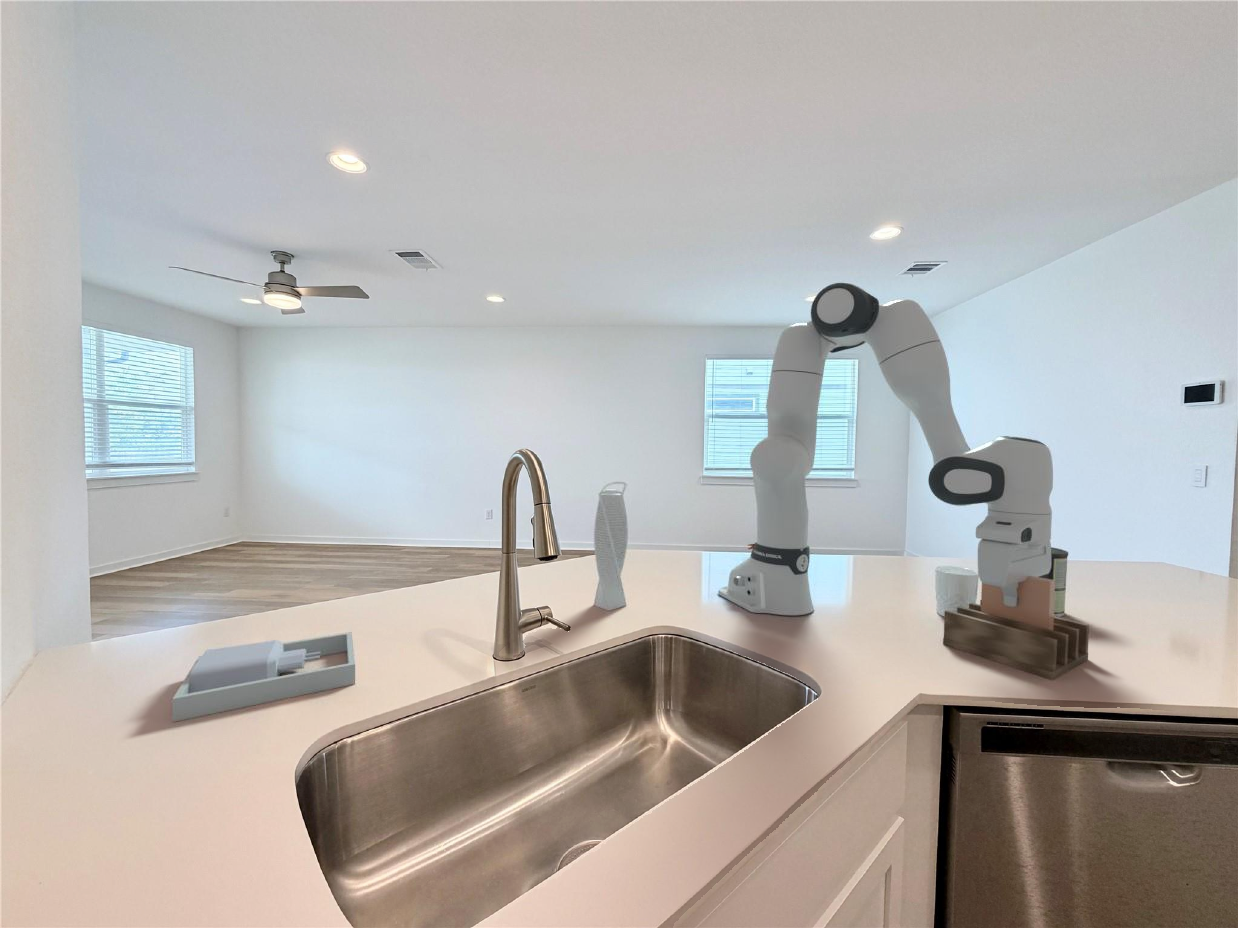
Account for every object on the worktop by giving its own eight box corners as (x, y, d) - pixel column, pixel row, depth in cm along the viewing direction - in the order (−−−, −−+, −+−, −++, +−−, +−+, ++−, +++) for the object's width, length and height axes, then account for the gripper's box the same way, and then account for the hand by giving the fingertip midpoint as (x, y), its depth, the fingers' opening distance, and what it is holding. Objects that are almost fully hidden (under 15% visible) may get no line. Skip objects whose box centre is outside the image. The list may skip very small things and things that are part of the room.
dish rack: (943, 643, 91) (944, 611, 90) (982, 629, 98) (983, 599, 98) (1052, 679, 77) (1054, 641, 77) (1087, 659, 85) (1089, 624, 84)
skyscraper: (612, 597, 116) (614, 480, 115) (634, 605, 111) (636, 482, 110) (587, 604, 111) (588, 482, 110) (608, 613, 105) (610, 484, 104)
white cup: (963, 610, 110) (964, 566, 110) (985, 622, 102) (987, 575, 102) (926, 608, 111) (927, 565, 111) (946, 620, 103) (947, 574, 103)
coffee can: (1025, 615, 107) (1028, 552, 106) (996, 601, 117) (998, 543, 117) (1078, 618, 105) (1081, 554, 105) (1043, 603, 116) (1046, 544, 115)
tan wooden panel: (980, 621, 91) (982, 568, 91) (985, 619, 92) (987, 567, 92) (1048, 640, 83) (1050, 581, 82) (1052, 637, 84) (1055, 580, 83)
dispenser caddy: (199, 675, 75) (199, 656, 75) (351, 648, 85) (351, 631, 85) (172, 721, 62) (172, 698, 62) (355, 683, 73) (355, 664, 73)
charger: (317, 682, 74) (189, 705, 67) (322, 658, 82) (208, 677, 75) (317, 651, 73) (188, 671, 67) (322, 631, 82) (208, 647, 75)
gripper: (1022, 521, 95) (1019, 591, 95) (970, 529, 84) (968, 607, 85) (1064, 525, 89) (1061, 599, 90) (1014, 534, 79) (1011, 618, 79)
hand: (1015, 603), depth 87 cm, fingers closed on tan wooden panel, 2 cm apart
